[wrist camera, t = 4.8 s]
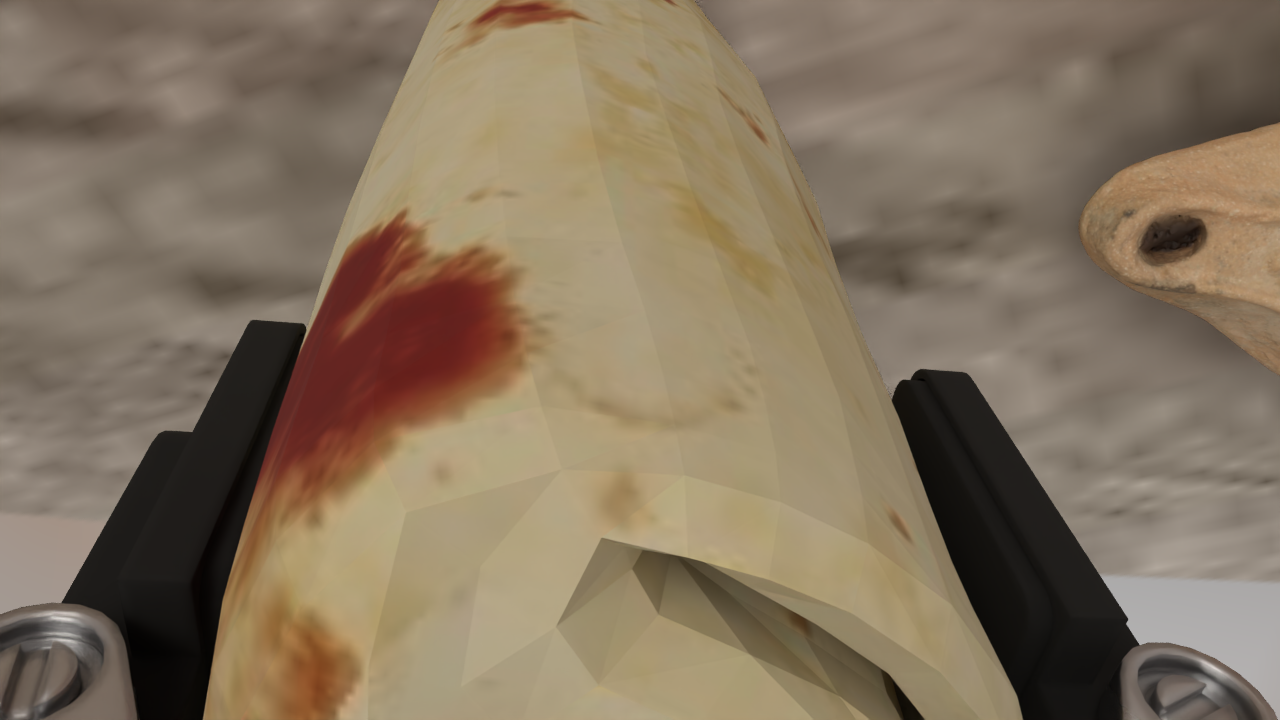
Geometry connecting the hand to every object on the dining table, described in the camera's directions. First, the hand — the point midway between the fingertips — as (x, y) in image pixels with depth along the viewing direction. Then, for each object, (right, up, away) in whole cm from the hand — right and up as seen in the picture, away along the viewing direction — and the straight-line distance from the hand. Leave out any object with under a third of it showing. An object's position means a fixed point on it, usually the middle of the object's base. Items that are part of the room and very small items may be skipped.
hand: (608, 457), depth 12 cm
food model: (-1, +7, +11) cm, 13 cm away
